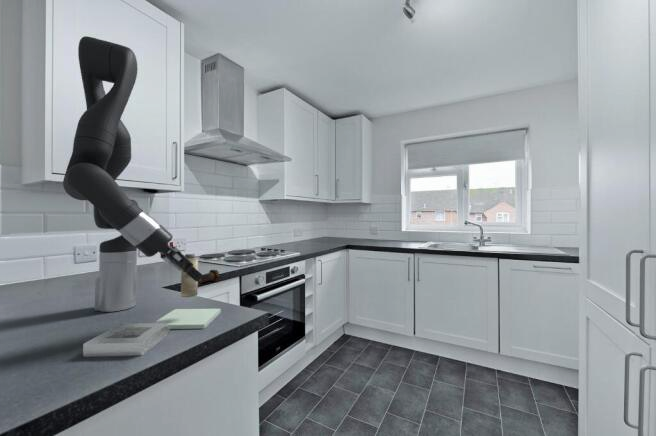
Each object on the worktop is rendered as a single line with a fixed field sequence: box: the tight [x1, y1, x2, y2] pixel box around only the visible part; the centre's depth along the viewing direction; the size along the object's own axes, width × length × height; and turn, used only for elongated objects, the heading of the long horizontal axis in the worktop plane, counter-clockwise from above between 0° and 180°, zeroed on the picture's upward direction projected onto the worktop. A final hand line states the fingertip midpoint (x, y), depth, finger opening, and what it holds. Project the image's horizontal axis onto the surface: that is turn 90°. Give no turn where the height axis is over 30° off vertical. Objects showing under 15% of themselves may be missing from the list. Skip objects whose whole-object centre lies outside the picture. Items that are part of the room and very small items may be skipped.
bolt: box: [198, 269, 220, 286], centre depth 121 cm, size 6×5×15 cm
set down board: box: [153, 308, 222, 330], centre depth 76 cm, size 13×13×1 cm
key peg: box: [180, 253, 199, 298], centre depth 76 cm, size 4×4×11 cm
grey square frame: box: [82, 322, 170, 358], centre depth 61 cm, size 11×11×2 cm
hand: (197, 277), depth 78 cm, fingers closed on key peg, 4 cm apart
